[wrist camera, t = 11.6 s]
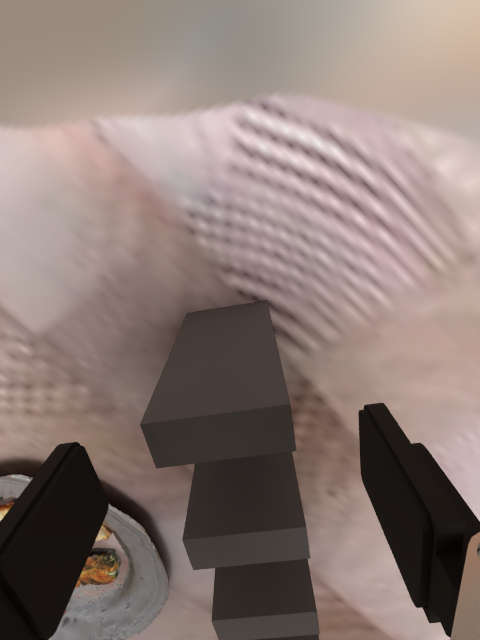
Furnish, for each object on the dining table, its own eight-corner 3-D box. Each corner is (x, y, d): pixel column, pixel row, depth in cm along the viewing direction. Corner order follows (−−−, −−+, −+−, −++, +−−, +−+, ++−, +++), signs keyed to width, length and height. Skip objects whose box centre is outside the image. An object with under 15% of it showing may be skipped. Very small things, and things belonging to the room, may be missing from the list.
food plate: (-21, 638, 35) (-48, 685, 31) (-168, 488, 26) (-225, 530, 23) (199, 603, 33) (195, 648, 30) (120, 432, 25) (103, 468, 21)
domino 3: (290, 467, 25) (319, 634, 15) (227, 474, 25) (219, 642, 16) (287, 447, 24) (316, 611, 15) (223, 456, 24) (211, 620, 15)
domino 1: (271, 329, 20) (296, 450, 11) (194, 341, 20) (156, 468, 11) (266, 300, 19) (290, 404, 10) (187, 313, 20) (140, 424, 10)
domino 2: (281, 405, 22) (310, 558, 13) (212, 414, 23) (193, 570, 14) (278, 382, 22) (305, 526, 12) (207, 392, 22) (182, 540, 13)
